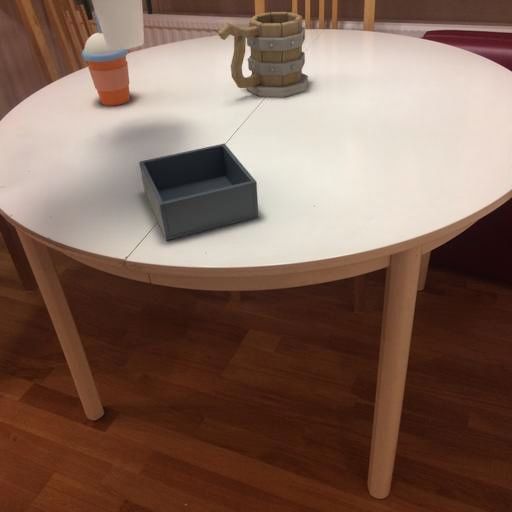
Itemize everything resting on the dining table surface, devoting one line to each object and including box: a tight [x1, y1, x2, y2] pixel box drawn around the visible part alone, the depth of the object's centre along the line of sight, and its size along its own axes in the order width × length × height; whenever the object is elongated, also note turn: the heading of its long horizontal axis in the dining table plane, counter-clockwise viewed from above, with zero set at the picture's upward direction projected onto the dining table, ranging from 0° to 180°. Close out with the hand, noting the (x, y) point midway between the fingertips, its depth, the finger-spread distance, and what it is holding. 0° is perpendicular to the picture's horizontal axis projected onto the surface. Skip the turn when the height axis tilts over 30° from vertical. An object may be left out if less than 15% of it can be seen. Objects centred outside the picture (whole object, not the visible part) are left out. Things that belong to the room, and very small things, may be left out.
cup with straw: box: [81, 8, 131, 106], centre depth 106 cm, size 9×9×18 cm
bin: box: [138, 143, 259, 241], centre depth 74 cm, size 13×13×6 cm
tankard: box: [217, 11, 309, 98], centre depth 108 cm, size 20×13×15 cm, turn 123°
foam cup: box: [91, 0, 145, 50], centre depth 86 cm, size 10×9×13 cm
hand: (119, 9), depth 89 cm, fingers closed on foam cup, 9 cm apart
